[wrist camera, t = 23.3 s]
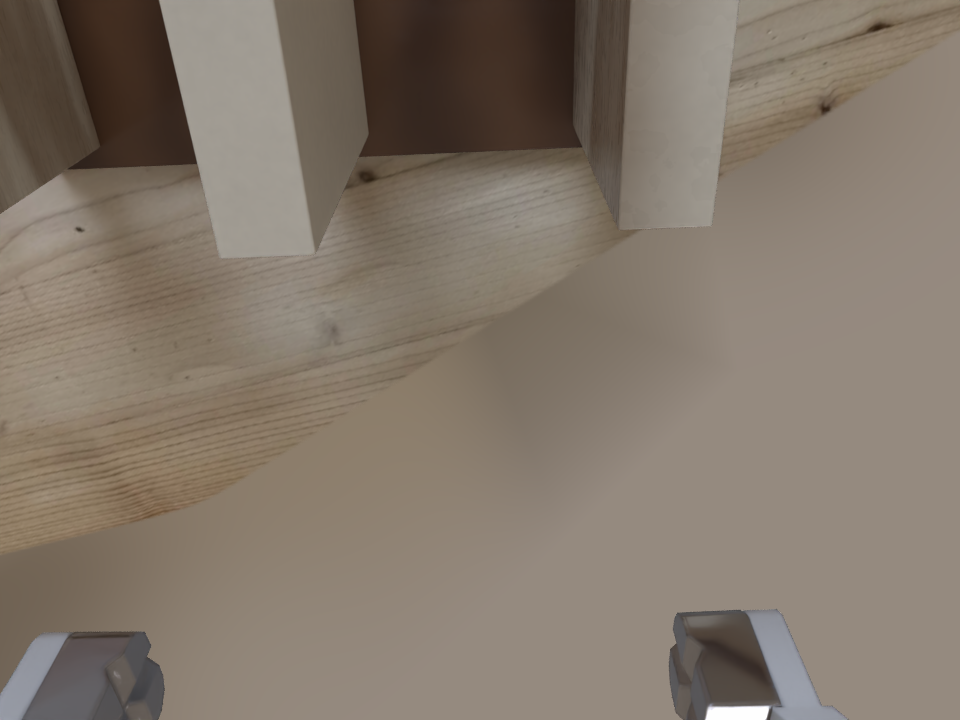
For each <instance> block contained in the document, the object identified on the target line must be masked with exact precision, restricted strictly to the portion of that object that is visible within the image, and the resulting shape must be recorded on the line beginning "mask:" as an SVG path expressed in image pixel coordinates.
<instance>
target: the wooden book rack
mask: <svg viewBox="0 0 960 720" xmlns="http://www.w3.org/2000/svg"><path fill="white" fill-rule="evenodd" d="M353 1H354V10H355V19H356V27H357V36H358V45H359V54H360V62H361V71H362V80H363V88H364V97H365V106H366V115H367V123H368V132H369V135H368V137H367V139H366V142H365V144H364V146H363V148H362V151H361V153H360V155H359V157H367V156H390V155H413V154H436V153H459V152H482V151H505V150H528V149H551V148H574V147H583V150H584V152H585V154H586V157H587V159H588V161H589V163H590V166H591V168H592V170H593V173H594V175H595V177H596V180H597V182H598V184H599V186H600V189H601V191H602V193H603V196H604V198H605V200H606V202H607V205H608V207H609V209H610V212H611V214H612V216H613V219H614V221H615V223H616V225H617V228H618V230H642V229H665V228H690V227H710V226H712V223H713V215H714V207H715V198H716V191H717V183H718V175H719V166H720V158H721V150H722V142H723V134H724V126H725V117H726V109H727V101H728V93H729V85H730V77H731V69H732V60H733V52H734V44H735V36H736V28H737V20H738V12H739V3H740V0H353ZM183 164H197V160H196V156H195V151H194V147H193V143H192V139H191V134H190V130H189V126H188V122H187V117H186V113H185V109H184V105H183V100H182V96H181V92H180V88H179V83H178V79H177V75H176V71H175V66H174V62H173V58H172V54H171V49H170V45H169V41H168V37H167V32H166V28H165V24H164V19H163V15H162V11H161V7H160V2H159V0H0V214H1V213H2V212H4V211H5V210H7V209H8V208H10V207H11V206H13V205H14V204H16V203H17V202H19V201H20V200H22V199H23V198H25V197H26V196H28V195H29V194H31V193H32V192H34V191H35V190H37V189H38V188H40V187H41V186H43V185H44V184H46V183H47V182H49V181H50V180H52V179H53V178H55V177H56V176H58V175H59V174H61V173H62V172H64V171H65V170H68V169H91V168H114V167H137V166H160V165H183Z"/></svg>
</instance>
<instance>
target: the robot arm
mask: <svg viewBox="0 0 960 720" xmlns="http://www.w3.org/2000/svg"><path fill="white" fill-rule="evenodd" d="M673 631H674V635H675V639H676V644H675V645H674V646H673V647H672V648H671V649H670V658H669V676H670V686H671V692H672V698H673V702H674V707H675V711H676V713H677V714H678V715H679V716H680V717H681V718H682V719H683V720H848V719H847V718H846V717H845V716H844V715H842V714H841V713H840V712H839V711H838V710H837V709H835V708H834V707H833V706H822V705H821V702H820V700H819V698H818V695H817V693H816V691H815V689H814V686H813V684H812V682H811V679H810V677H809V675H808V672H807V670H806V668H805V665H804V663H803V661H802V659H801V656H800V654H799V652H798V649H797V647H796V645H795V642H794V640H793V638H792V635H791V634H790V631H789V629H788V626H787V624H786V622H785V619H784V617H783V615H782V614H781V613H780V612H779V611H778V610H777V609H775V610H745V611H741V610H729V611H728V610H727V611H706V612H684V613H677V614H676V616H675V619H674V625H673ZM150 648H151V644H150V642H149V640H148V638H147V636H146V633H145V632H48V633H42V634H41V635H39V636H38V637H37V638H36V639H35V640H33V641H32V643H31V644H30V646H29V648H28V649H27V651H26V653H25V654H24V656H23V658H22V659H21V661H20V663H19V664H18V666H17V668H16V669H15V671H14V673H13V674H12V676H11V677H10V679H9V681H8V682H7V684H6V686H5V687H4V689H3V691H2V693H1V694H0V720H158V719H159V716H160V713H161V711H162V705H163V697H164V691H165V690H164V689H165V688H164V679H163V674H162V671H161V669H160V666H159V665H158V664H157V663H155V662H154V661H153V660H151V659H150V658H148V657H147V655H148V653H149V650H150Z"/></svg>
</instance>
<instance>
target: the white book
mask: <svg viewBox="0 0 960 720" xmlns="http://www.w3.org/2000/svg"><path fill="white" fill-rule="evenodd" d="M159 2H160V7H161V11H162V15H163V19H164V24H165V28H166V32H167V37H168V41H169V45H170V49H171V54H172V58H173V62H174V66H175V71H176V75H177V79H178V83H179V88H180V92H181V96H182V100H183V105H184V109H185V113H186V117H187V122H188V126H189V130H190V134H191V139H192V143H193V147H194V151H195V156H196V160H197V164H198V168H199V173H200V177H201V181H202V186H203V190H204V194H205V198H206V203H207V207H208V211H209V215H210V220H211V224H212V228H213V232H214V237H215V241H216V245H217V249H218V254H219V257H220V259H236V258H261V257H286V256H311V255H315V254H316V252H317V250H318V248H319V245H320V243H321V241H322V238H323V236H324V234H325V232H326V229H327V227H328V225H329V223H330V220H331V218H332V216H333V214H334V211H335V209H336V207H337V205H338V202H339V200H340V198H341V196H342V193H343V191H344V189H345V187H346V184H347V182H348V180H349V178H350V175H351V173H352V171H353V169H354V166H355V164H356V162H357V160H358V157H359V155H360V153H361V151H362V148H363V146H364V144H365V142H366V139H367V137H368V135H369V132H368V123H367V115H366V106H365V97H364V88H363V80H362V71H361V62H360V54H359V45H358V36H357V27H356V19H355V10H354V1H353V0H159Z"/></svg>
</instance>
